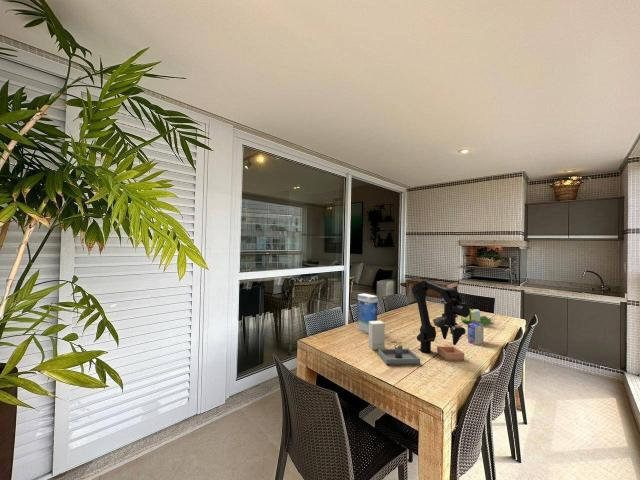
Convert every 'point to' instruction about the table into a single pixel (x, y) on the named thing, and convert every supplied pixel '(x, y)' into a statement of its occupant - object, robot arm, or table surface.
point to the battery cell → (398, 351)
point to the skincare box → (376, 335)
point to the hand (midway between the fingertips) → (449, 342)
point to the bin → (450, 353)
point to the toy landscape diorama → (475, 317)
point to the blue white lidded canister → (366, 311)
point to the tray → (390, 359)
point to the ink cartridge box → (475, 333)
